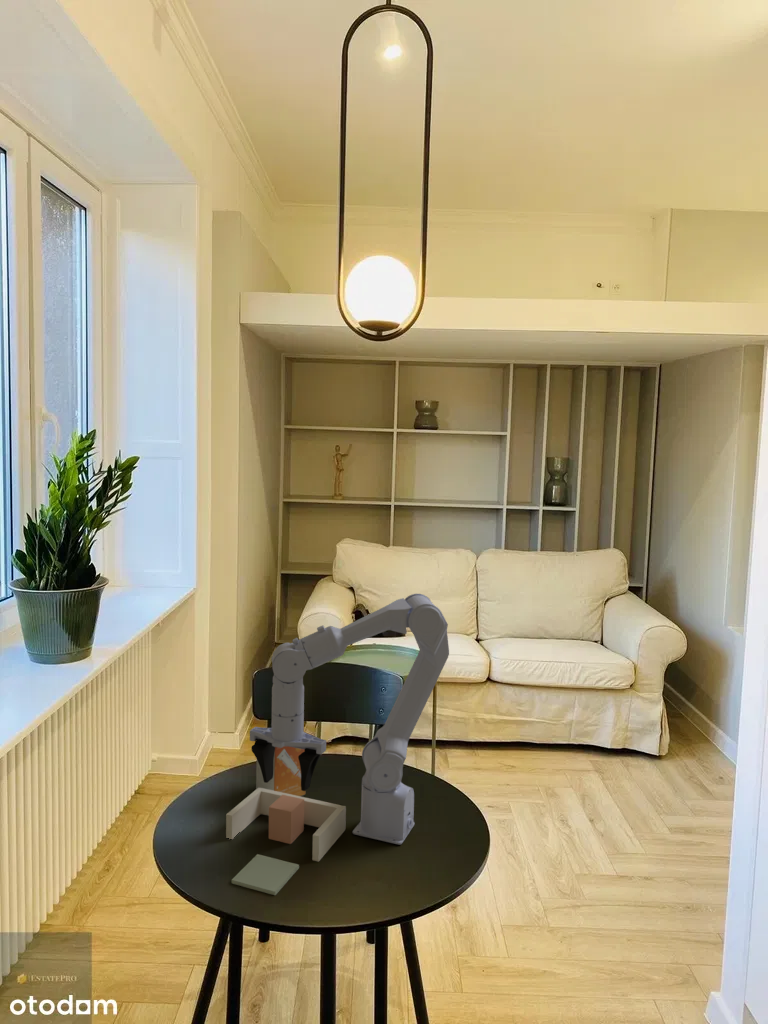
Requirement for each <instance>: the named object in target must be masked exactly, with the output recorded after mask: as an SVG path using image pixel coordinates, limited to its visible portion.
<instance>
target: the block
mask: <svg viewBox="0 0 768 1024" xmlns="http://www.w3.org/2000/svg"><path fill="white" fill-rule="evenodd" d="M304 826H305V824H304V799H300V798H296V797H291V796H286V795H282V796H280V797H279V798H278V799H277V800H276V801H275V802H274V803H273V804H272V805H271V806H269V816H268V840H271V841H272V840H273V841H277V842H281V843H284V844H289V845H291V844H293V843H294V842H295V840H296V839H297V838H298V837H299V836H300V835H301V834H302V833H303V832H304V831H305V830H304V829H305V827H304Z"/></svg>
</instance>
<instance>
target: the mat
mask: <svg viewBox="0 0 768 1024" xmlns="http://www.w3.org/2000/svg"><path fill="white" fill-rule="evenodd" d="M299 869H300V864H298V863H294V862H289V861H286V860H281V859H278V858H275V857H270V856H266V855H262V854H258V853H257V854H256V855H255V856H254V857H253V858H252V859H251V860H250V861H248V863H247V864H246V865H244V867H243V868H242V869H241V870H240V871H239V872H238V873H237V874H236V875H235V876H234V877H233V878H232V879H231V884H233V885H237V886H241V887H243V888H247V889H251V890H254V891H258V892H262V893H266V894H268V895H273V896H276V895H277V894H279V892H280V891H281V890H282V888H283V887H284V886H285V885H286V884H287V883H288V881H289V880H290V879H291V878H292V877H293V875H295V873H296V872H297V871H298V870H299Z"/></svg>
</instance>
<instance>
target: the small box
mask: <svg viewBox="0 0 768 1024" xmlns="http://www.w3.org/2000/svg"><path fill="white" fill-rule="evenodd" d="M303 752H305V750H304V749H299V748H294V747H289V746H284V747H282V748H279V747H275V752H274V765H273V778H272V779H271V780H270V781H269V782H268V783H265V782H264V780H263V775H262V772H261V768H260V765H259V763H258V760H257V759H256V772H255V774H256V777H255V779H256V780H255V781H256V784H255V785H256V787H255V788H256V789H257V788H258V787H259V788H264V789H269V790H273V791H278V792H282V793H287V794H292V795H296V796H301V797H304V796H305V795H306V791H307V790H306V791H302V790H301V768H300V762H299V759H298V756H299V755H300V754H302V753H303ZM256 789H255V790H256Z"/></svg>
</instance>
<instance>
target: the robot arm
mask: <svg viewBox="0 0 768 1024" xmlns="http://www.w3.org/2000/svg"><path fill="white" fill-rule="evenodd" d="M448 625H449V624H448V622H447V620H446V618H445V616H444V614H443V612H442V611H441V609H440V608H439V607H438V606H437V605H435V604H434V603H433V602H432V601H431V599H430V598H429V597H428V596H426V595H425V594H421V593H413V594H410V595H407V597H405V598H404V597H402V598H399V599H396V600H394V601H392V602H391V603H389V604H387V605H385V606H383V607H381V608H379V609H377V610H375V611H373V612H371V613H369V614H367V615H365V616H363V617H361V618H359V619H357V620H355V621H353V622H351V623H349V624H347V625H345V626H343V627H341V628H339V627H335V626H332V625H329V626H327V627H325V626H324V625H320V626H317V627H316V630H317V631H316V632H313V633H311V634H308V635H306V636H303V637H302V638H298V637H295V638H294V639H292V642H291V643H290V642H284V643H282V644H279V645H278V646H277V647H276V648H275V649H274V651H273V653H272V656H271V663H272V664H271V666H272V672H273V676H272V685H271V686H272V687H271V727H259V726H255V727H253V728H251V729H250V730H249V741H251V742H254V743H253V745H252V746H251V752H252V753H253V755H254V756H255V758H256V761H257V760H258V763H259V765H260V768H261V772H262V775H263V780H264V782H265V783H268V782H269V781H270V780H271V779H272V778H273V765H274V752H275V747H279V748H282V747H284V746H289V747H294V748H299V749H304V750H305V752H303V753H302V754H300V755H299V756H298V759H299V762H300V768H301V790H302V791H307V790H308V789H309V788H310V787H311V783H312V778H313V775H314V772H315V769H316V766H317V763H318V762H319V760H320V758H321V756H322V755H323V754H324V753H325V752H326V751H327V739H322V738H319V737H317V736H314V735H312V734H311V733H310V734H309V733H308V732H305V731H304V727H305V726H304V721H305V719H304V718H305V711H304V710H305V704H304V703H305V685H304V676H305V674H306V671H310V670H314V669H315V668H318V667H320V666H322V665H324V664H326V663H330V662H332V661H333V660H335V659H338V658H340V657H343V655H345V654H344V653H345V652H346V649H347V647H348V646H350V645H353V644H355V643H358V642H360V641H363V640H366V639H368V638H371V637H374V636H376V635H378V634H381V633H385V632H386V631H392V632H395V633H399V634H403V635H404V634H405V635H407V633H408V632H407V628H409V630H410V631H411V633H412V634H413V637H414V639H415V641H416V644H417V646H418V649H419V651H418V654H417V656H416V658H415V660H414V662H413V663H412V666H411V667H410V668H411V669H410V670H409V672H408V675H407V677H406V678H405V681H404V683H403V685H402V687H401V690H400V691H399V692H398V694H397V695H398V696H397V697H396V700H395V702H394V703H393V706H392V708H391V710H390V713H389V714H388V716H387V719H386V721H385V723H384V724H383V726H382V727H380V728H379V729H378V730H377V731H376V733H375V735H374V736H373V738H371V740H369V741H368V742H367V743H366V744H364V745H365V746H363V749H362V752H361V758H362V762H363V764H364V767H365V773H364V775H363V776H362V778H361V799H360V800H361V803H360V807H361V808H360V822H359V823H358V824H357V825H356V826H355V827H354V829H353V830H352V834H353V835H356V836H360V837H364V838H369V839H373V840H376V841H377V840H378V841H382V842H386V843H390V844H395V845H402V844H403V843H404V841H405V840H406V838H407V837H408V835H409V834H410V832H411V830H412V829H413V827H414V826H415V820H414V816H415V813H414V811H415V792H414V788H413V787H411V786H409V785H406V784H404V783H403V782H402V779H403V773H404V772H403V771H404V770H403V768H404V764H405V761H406V758H407V751H408V744H409V741H410V738H411V736H412V734H413V732H414V729H415V727H416V726H417V723H418V721H419V719H420V717H421V715H422V712H423V711H424V709H425V706H426V704H427V702H428V700H429V698H430V696H431V694H432V692H433V690H434V688H435V685H436V684H437V681H438V679H439V677H440V675H441V673H442V671H443V669H444V666H445V665H446V663H447V660H448V658H449V656H450V648H449V647H450V646H449V638H448Z"/></svg>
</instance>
